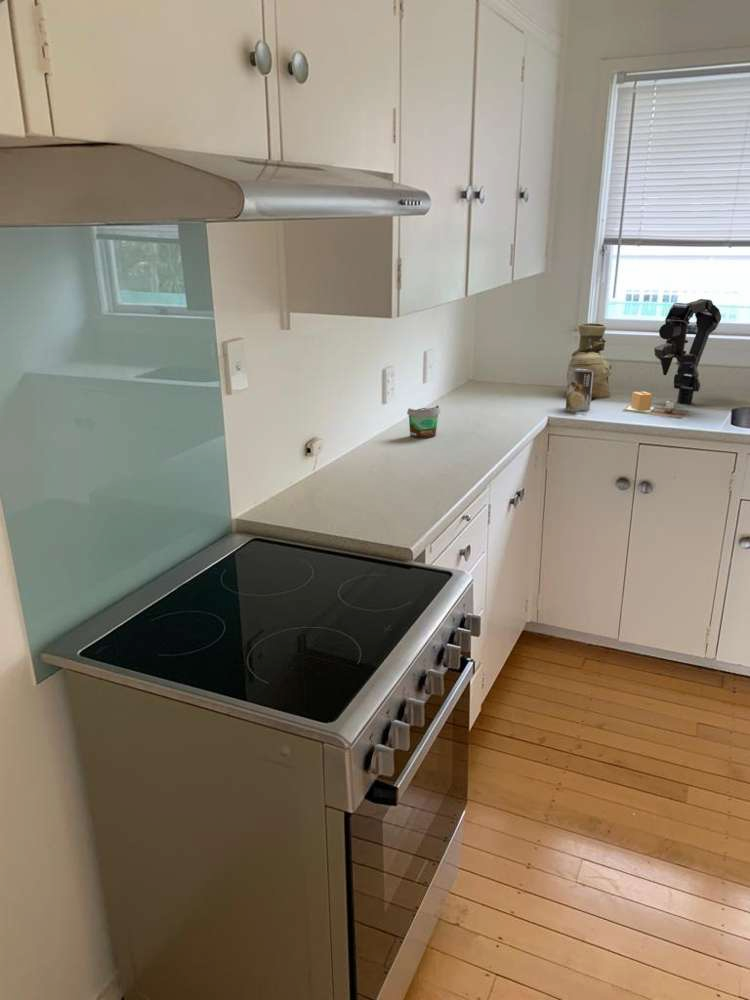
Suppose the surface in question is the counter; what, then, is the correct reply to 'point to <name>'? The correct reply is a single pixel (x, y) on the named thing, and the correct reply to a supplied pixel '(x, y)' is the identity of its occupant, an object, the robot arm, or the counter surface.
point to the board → (661, 412)
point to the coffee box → (579, 389)
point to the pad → (640, 410)
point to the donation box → (641, 400)
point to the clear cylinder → (669, 407)
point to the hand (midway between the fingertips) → (671, 377)
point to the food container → (423, 422)
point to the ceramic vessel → (593, 358)
